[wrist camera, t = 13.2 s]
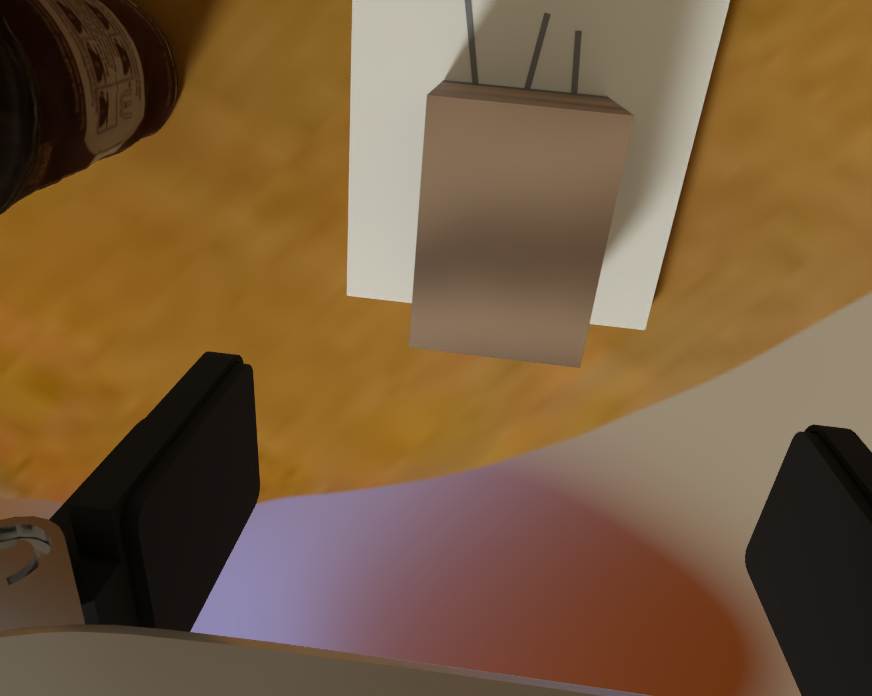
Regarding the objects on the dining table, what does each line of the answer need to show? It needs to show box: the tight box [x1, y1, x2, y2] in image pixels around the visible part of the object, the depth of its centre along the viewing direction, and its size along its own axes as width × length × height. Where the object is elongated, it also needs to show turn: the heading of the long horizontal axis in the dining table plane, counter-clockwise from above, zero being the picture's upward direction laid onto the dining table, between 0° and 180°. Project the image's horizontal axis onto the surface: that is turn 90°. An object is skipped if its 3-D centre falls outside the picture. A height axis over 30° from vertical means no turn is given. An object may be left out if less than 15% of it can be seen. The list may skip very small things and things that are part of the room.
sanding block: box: [409, 80, 634, 368], centre depth 25 cm, size 9×6×6 cm
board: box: [347, 0, 730, 330], centre depth 26 cm, size 20×14×2 cm
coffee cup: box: [0, 0, 177, 214], centre depth 22 cm, size 9×8×13 cm
